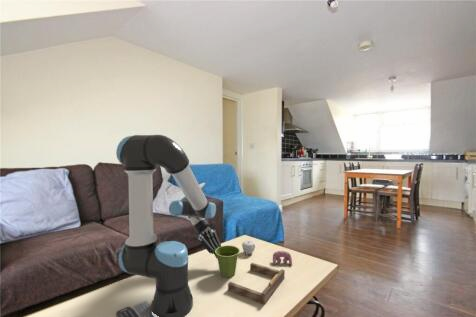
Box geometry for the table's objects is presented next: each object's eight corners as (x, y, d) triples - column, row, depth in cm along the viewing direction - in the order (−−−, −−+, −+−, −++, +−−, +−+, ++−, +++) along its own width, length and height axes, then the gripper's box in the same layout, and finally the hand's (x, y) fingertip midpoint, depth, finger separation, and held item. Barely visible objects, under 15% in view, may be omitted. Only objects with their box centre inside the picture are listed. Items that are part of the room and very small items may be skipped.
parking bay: (228, 290, 97) (228, 279, 97) (251, 268, 115) (251, 259, 114) (264, 304, 88) (264, 292, 88) (284, 278, 106) (284, 268, 106)
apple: (244, 249, 137) (244, 238, 137) (257, 251, 135) (257, 239, 134) (239, 254, 130) (239, 243, 130) (253, 256, 127) (253, 245, 127)
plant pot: (211, 270, 113) (211, 247, 112) (234, 265, 118) (234, 243, 117) (219, 283, 102) (219, 258, 102) (244, 277, 107) (244, 253, 107)
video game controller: (291, 265, 120) (290, 251, 123) (292, 265, 116) (291, 251, 119) (272, 265, 121) (272, 250, 124) (273, 265, 117) (272, 250, 120)
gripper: (203, 222, 129) (226, 261, 121) (186, 229, 117) (210, 272, 110) (211, 215, 125) (235, 254, 118) (195, 221, 114) (220, 265, 107)
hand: (223, 262), depth 114 cm, fingers closed
